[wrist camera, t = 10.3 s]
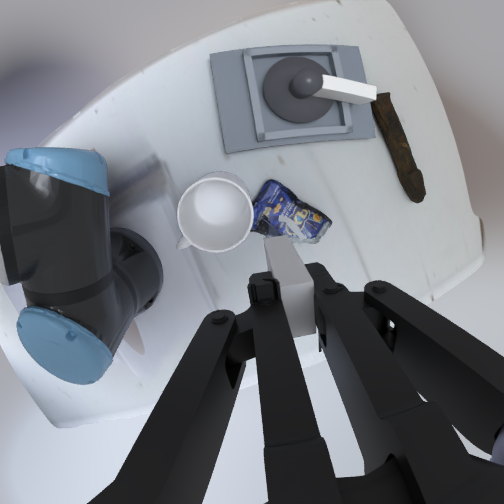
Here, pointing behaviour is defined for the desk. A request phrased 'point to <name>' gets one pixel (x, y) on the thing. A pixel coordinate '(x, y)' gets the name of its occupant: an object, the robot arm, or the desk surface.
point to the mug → (215, 213)
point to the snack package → (286, 214)
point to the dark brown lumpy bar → (399, 147)
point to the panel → (259, 114)
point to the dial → (309, 90)
